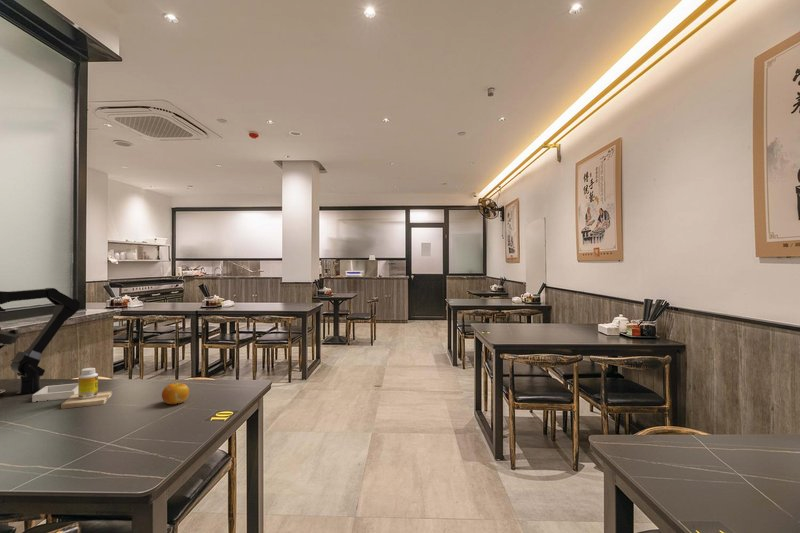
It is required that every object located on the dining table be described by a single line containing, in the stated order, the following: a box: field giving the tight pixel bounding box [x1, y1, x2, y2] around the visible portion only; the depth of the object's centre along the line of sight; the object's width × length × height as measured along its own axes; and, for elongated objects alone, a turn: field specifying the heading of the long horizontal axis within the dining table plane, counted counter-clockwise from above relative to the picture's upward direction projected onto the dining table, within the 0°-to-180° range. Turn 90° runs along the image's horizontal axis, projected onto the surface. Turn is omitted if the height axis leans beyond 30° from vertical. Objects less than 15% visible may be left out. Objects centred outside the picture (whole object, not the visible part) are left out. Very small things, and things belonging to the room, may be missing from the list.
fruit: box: [161, 382, 190, 405], centre depth 142 cm, size 8×8×8 cm
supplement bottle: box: [78, 367, 99, 399], centre depth 143 cm, size 6×6×10 cm
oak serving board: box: [60, 390, 113, 410], centre depth 143 cm, size 12×12×2 cm
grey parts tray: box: [31, 382, 79, 403], centre depth 149 cm, size 12×12×2 cm
